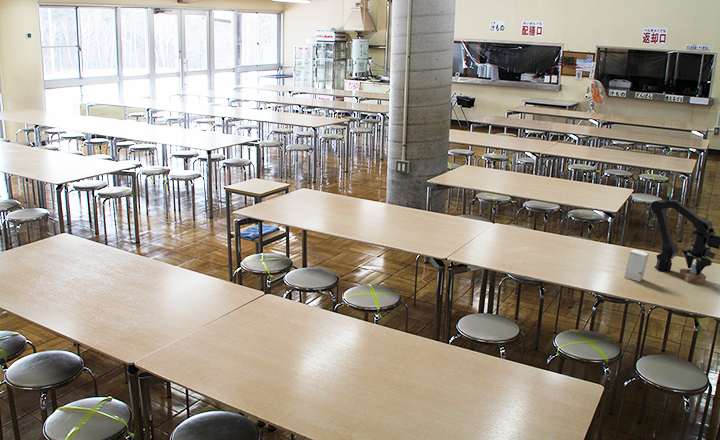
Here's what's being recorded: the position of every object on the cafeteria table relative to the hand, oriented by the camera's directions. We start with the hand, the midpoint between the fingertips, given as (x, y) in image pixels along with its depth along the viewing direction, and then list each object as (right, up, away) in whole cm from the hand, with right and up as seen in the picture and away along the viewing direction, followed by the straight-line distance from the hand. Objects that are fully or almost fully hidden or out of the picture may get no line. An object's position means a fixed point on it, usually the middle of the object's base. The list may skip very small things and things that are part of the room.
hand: (693, 271), depth 312 cm
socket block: (0, -4, +1) cm, 4 cm away
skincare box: (-32, -4, -2) cm, 33 cm away
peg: (0, -4, +1) cm, 4 cm away
